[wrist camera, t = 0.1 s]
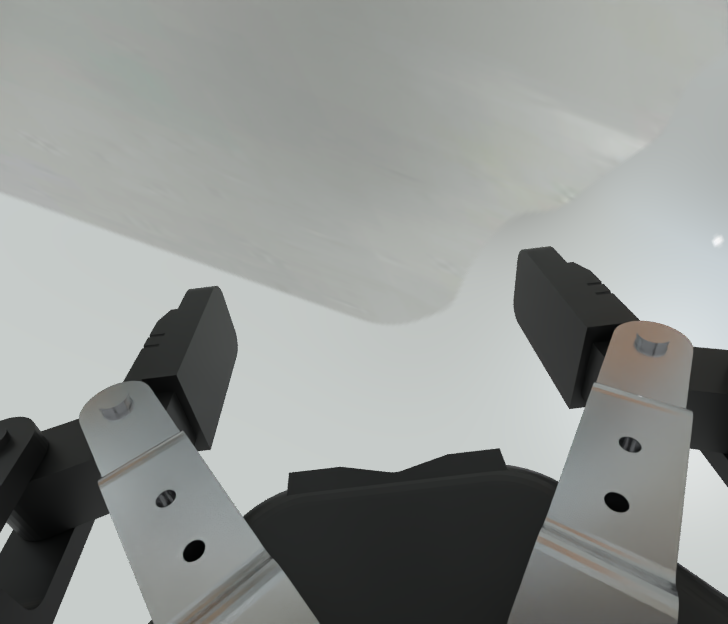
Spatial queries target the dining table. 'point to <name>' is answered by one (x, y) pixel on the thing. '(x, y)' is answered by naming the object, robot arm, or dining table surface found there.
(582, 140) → the dining table surface
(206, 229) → the dining table surface
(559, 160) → the dining table surface
